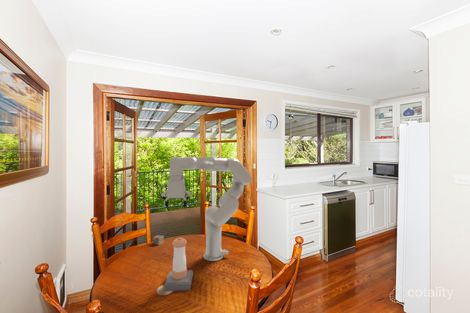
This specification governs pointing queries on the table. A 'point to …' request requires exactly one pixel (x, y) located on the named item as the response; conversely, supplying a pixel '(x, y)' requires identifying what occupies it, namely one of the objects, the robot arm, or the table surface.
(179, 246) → the pepper shaker
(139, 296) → the table surface
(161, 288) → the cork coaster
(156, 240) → the grey cube
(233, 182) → the robot arm
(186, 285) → the slate stand
